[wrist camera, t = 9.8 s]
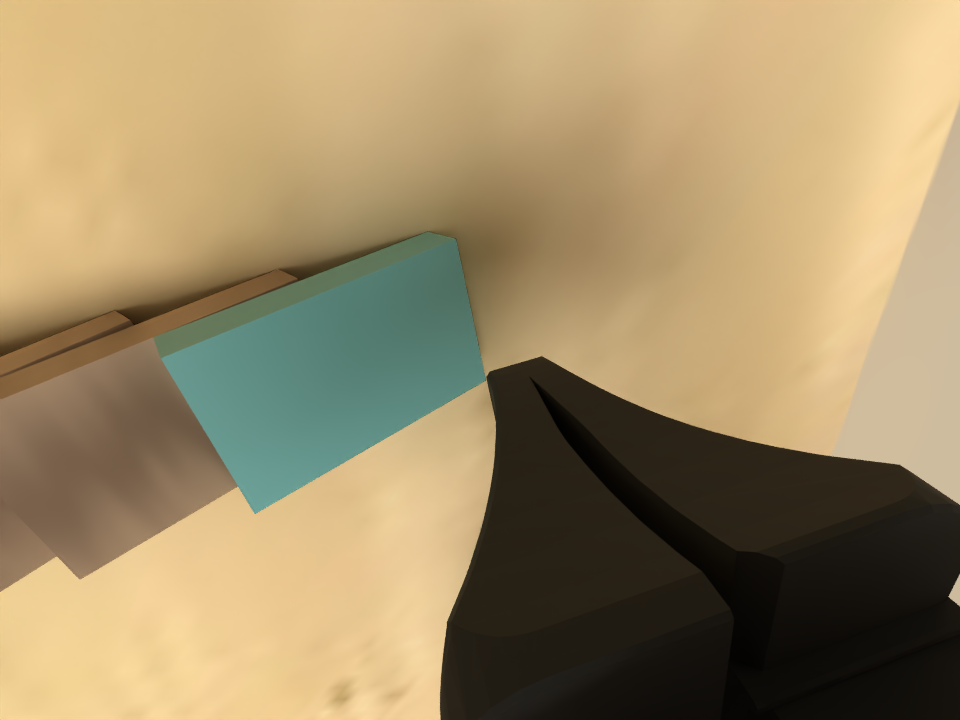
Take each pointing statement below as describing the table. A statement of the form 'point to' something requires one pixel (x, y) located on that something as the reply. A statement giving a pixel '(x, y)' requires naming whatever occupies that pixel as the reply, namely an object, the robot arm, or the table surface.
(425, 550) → the table surface
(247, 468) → the teal domino
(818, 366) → the table surface
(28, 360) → the walnut domino
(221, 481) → the walnut domino
